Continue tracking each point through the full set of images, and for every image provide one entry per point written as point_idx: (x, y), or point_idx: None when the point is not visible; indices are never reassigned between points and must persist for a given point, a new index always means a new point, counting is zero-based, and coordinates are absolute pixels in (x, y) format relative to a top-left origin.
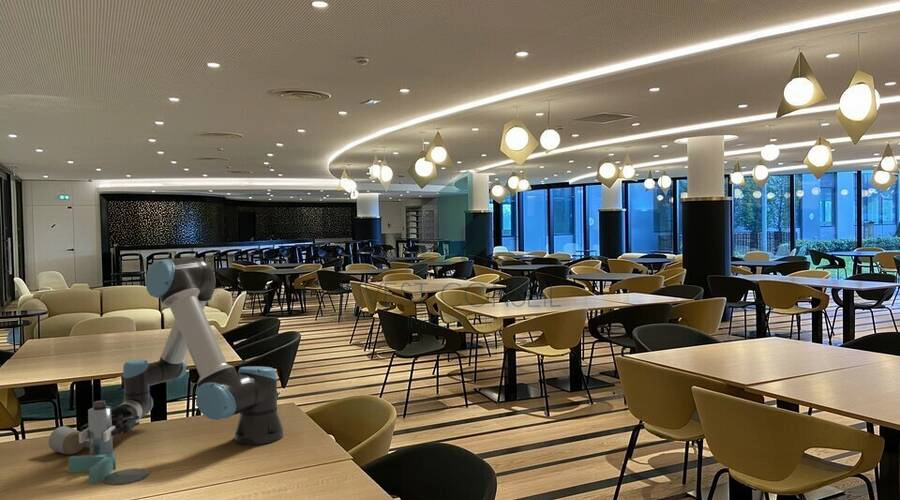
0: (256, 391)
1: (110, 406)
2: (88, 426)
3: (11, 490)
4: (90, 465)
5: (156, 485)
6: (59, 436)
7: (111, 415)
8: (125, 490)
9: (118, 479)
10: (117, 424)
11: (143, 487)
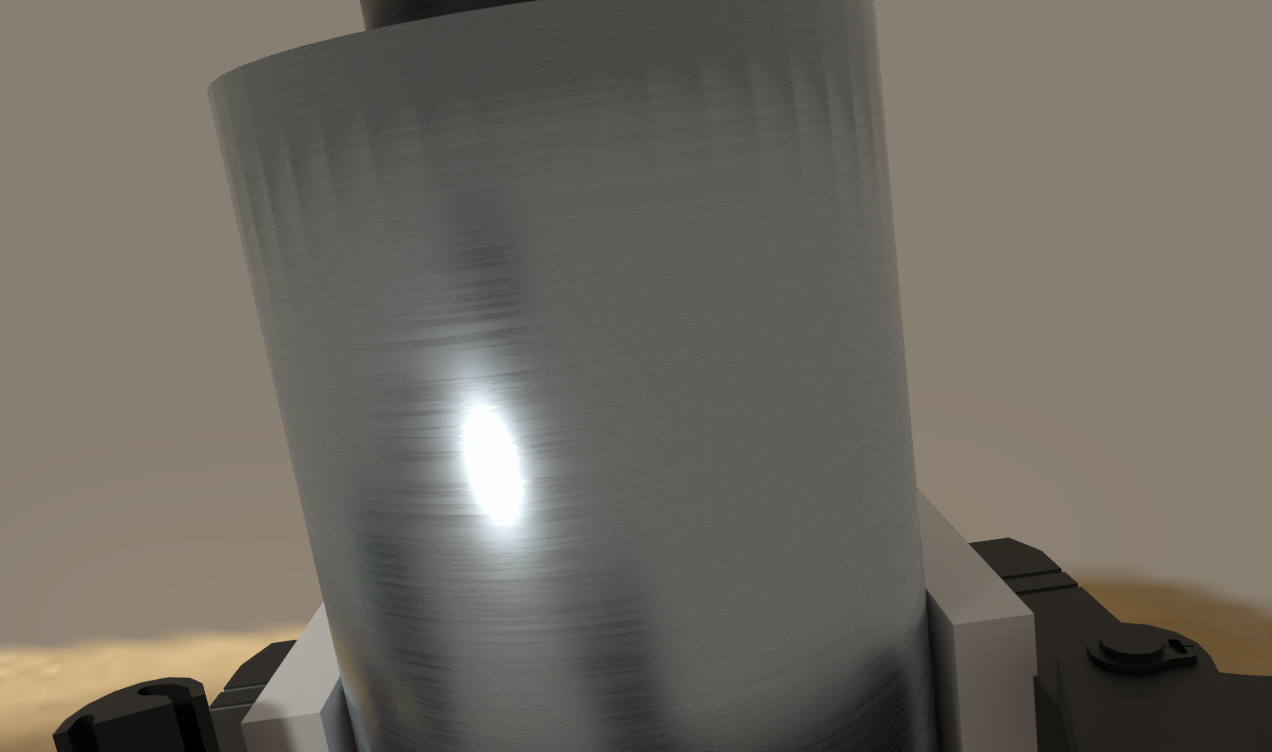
0: None
1: (237, 68)
2: (1114, 635)
3: (1145, 586)
4: None
5: (6, 715)
6: None
7: (270, 358)
8: (237, 652)
9: None
10: (171, 705)
11: (107, 688)
